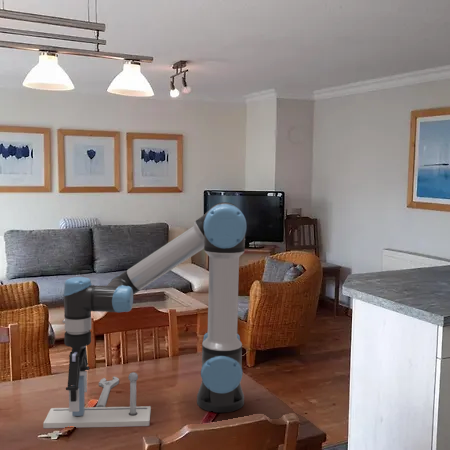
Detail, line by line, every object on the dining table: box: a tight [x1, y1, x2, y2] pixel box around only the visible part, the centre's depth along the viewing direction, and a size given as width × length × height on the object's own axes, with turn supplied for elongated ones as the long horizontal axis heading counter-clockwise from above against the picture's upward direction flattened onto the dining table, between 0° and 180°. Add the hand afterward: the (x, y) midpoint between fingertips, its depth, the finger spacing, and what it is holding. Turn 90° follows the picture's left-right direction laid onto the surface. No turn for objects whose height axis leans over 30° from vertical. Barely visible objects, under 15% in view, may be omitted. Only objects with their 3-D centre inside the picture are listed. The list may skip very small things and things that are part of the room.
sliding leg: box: [71, 376, 86, 416], centre depth 163 cm, size 3×3×11 cm
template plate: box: [42, 371, 152, 429], centre depth 163 cm, size 30×10×14 cm, turn 95°
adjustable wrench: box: [95, 376, 120, 407], centre depth 182 cm, size 25×6×2 cm, turn 179°
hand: (78, 401), depth 163 cm, fingers open, 13 cm apart
